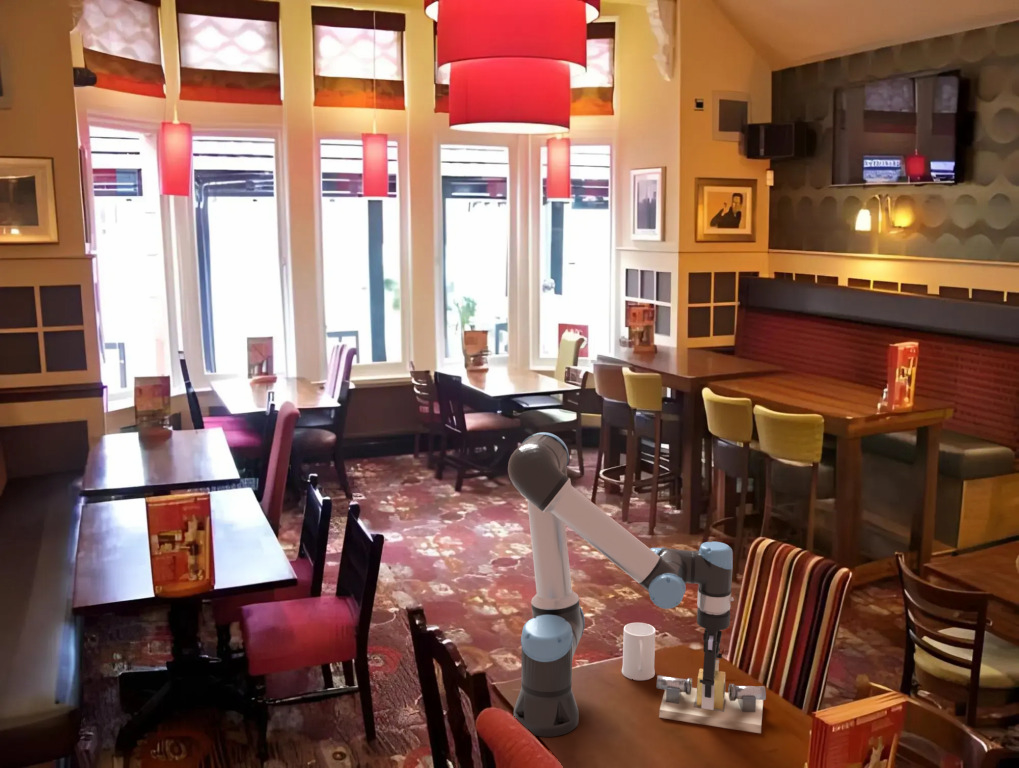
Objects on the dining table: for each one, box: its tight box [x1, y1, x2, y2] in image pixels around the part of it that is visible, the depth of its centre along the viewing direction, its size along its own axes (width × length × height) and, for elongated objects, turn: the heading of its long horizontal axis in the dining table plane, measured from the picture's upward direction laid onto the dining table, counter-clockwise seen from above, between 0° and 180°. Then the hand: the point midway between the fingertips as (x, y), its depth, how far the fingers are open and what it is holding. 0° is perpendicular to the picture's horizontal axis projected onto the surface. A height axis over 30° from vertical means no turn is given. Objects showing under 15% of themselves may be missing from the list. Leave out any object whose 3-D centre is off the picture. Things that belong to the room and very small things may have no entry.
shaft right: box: [727, 683, 767, 712], centre depth 217 cm, size 8×5×5 cm, turn 88°
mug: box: [621, 622, 656, 681], centre depth 235 cm, size 12×8×12 cm
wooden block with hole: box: [696, 668, 726, 710], centre depth 218 cm, size 6×5×7 cm
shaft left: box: [656, 675, 693, 704], centre depth 220 cm, size 8×5×5 cm, turn 73°
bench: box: [658, 687, 764, 734], centre depth 218 cm, size 23×13×2 cm, turn 73°
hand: (709, 696), depth 218 cm, fingers open, 11 cm apart
